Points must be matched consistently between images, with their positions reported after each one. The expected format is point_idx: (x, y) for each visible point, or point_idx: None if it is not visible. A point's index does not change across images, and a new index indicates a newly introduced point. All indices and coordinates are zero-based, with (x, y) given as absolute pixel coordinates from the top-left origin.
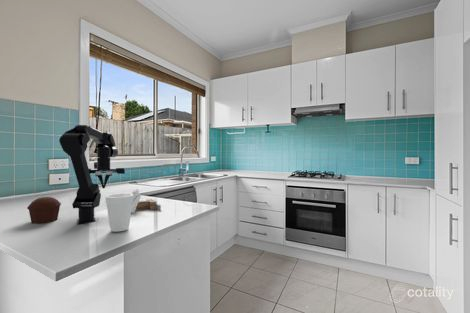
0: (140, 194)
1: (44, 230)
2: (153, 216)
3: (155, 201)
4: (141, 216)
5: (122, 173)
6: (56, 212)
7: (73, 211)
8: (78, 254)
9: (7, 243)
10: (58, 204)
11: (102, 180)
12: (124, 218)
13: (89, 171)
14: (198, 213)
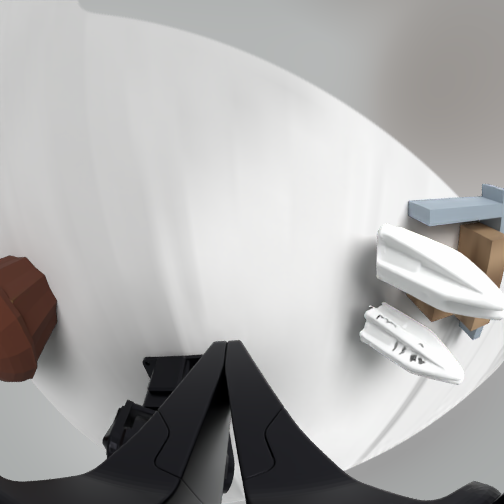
0: (457, 381)
1: (100, 408)
2: (411, 388)
3: (487, 321)
4: (385, 382)
5: (499, 497)
6: (42, 330)
7: (60, 136)
8: (230, 495)
9: (89, 438)
10: (30, 357)
11: (215, 494)
12: None
13: None
14: (490, 374)
